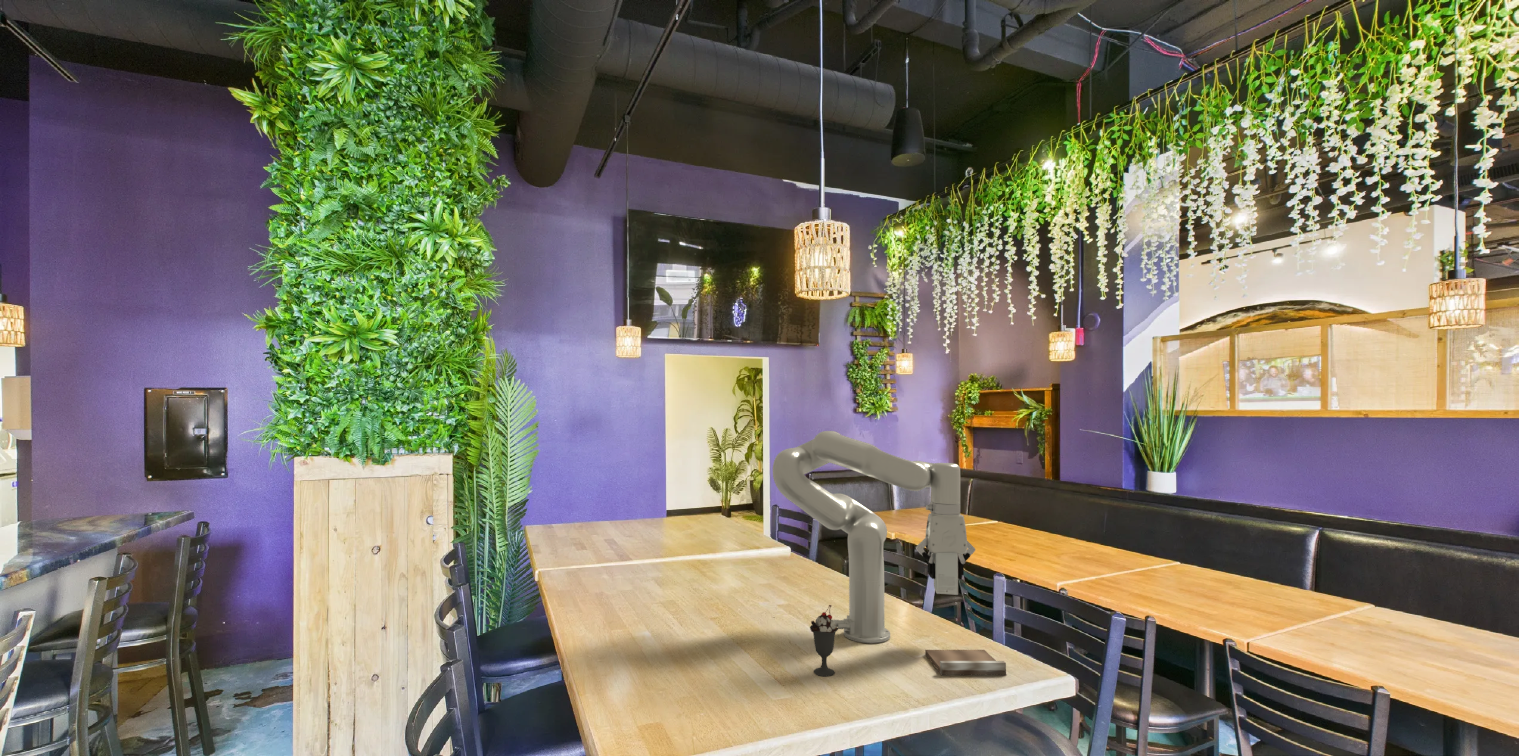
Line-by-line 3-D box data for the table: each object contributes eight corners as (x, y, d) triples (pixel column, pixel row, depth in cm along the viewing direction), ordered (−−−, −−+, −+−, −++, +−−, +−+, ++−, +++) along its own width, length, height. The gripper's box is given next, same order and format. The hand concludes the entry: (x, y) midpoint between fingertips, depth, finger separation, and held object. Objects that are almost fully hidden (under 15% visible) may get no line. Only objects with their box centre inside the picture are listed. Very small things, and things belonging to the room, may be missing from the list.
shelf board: (941, 675, 144) (941, 662, 144) (925, 654, 157) (925, 643, 157) (1006, 675, 144) (1005, 662, 144) (984, 654, 157) (984, 643, 157)
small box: (958, 595, 160) (958, 554, 161) (935, 593, 162) (935, 552, 162) (954, 587, 168) (954, 548, 169) (933, 586, 169) (933, 546, 170)
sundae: (841, 668, 147) (841, 603, 148) (835, 679, 141) (835, 611, 142) (813, 664, 149) (814, 600, 150) (806, 675, 143) (806, 608, 144)
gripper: (917, 510, 162) (917, 580, 161) (983, 512, 163) (983, 582, 162) (909, 506, 170) (909, 573, 169) (972, 508, 170) (972, 574, 169)
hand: (945, 577), depth 165 cm, fingers closed on small box, 6 cm apart
